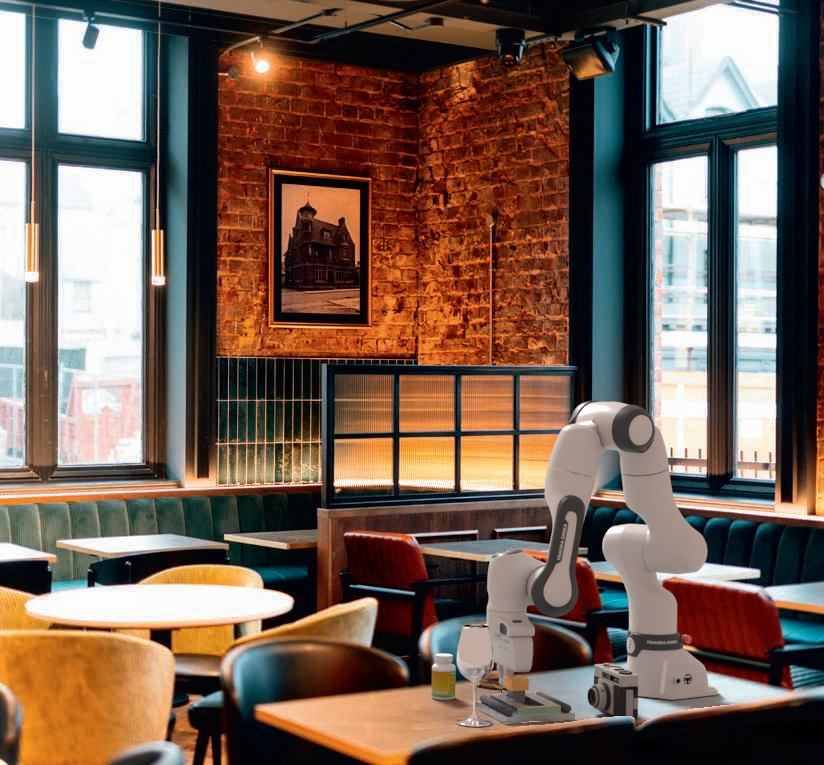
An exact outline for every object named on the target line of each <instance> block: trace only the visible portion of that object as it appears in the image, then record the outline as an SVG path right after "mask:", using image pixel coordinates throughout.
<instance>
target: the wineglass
mask: <svg viewBox="0 0 824 765" xmlns="http://www.w3.org/2000/svg"><path fill="white" fill-rule="evenodd" d="M494 665H495V662H494V650H493V644H492V638H491V633H490V628H489V626H488V625H487V624H479V623H476V624H475V623H469V624H464V625H462V629H461V632H460V637H459V641H458V646H457V652H456V667H457V669H458V671H459V673H460V675H461V676H463V677H464V678H465V679H466V680H469V681H471V684H472V713H471V715H470V716H469V717H462V718H458V719H456V721H455V723H456V724H458V725H460V726H462V727H468V726H470V727H469V728H485V727H489V726H491V725H493V720H491V719H488V718H485V717H484V718H483V717H480V716H478V713H477V709H476V701H477V691H478V689H477V688H478V685H479V684H478V682H479V681H481V680H483V679H485V678H486V677H487V676H488V675H489V674H490V673H491V671H493V669H494ZM484 726H485V727H484Z"/></svg>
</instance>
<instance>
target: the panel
mask: <svg viewBox="0 0 824 765" xmlns="http://www.w3.org/2000/svg"><path fill="white" fill-rule="evenodd" d="M489 697H490V698H492V699H494V700H496V701H498V702H500V703H502V704H503V705H505V706H507V707H509V708H511V709H512V710H513V714H512V715H511V716H508V715H506V714H504V713H502V712H500V711H498V710H496V709H495V708H493V707H491V706H489V705H487V704H485V703H483V702H481V701H480V700H479V701H478V700H476V708H477V709H476V710H478V709H479V710H478V711H480V710H481V711H480V712H482V713H483V712H484V713H483V714H485V713H487V714H489V715H490V716H489V715H488V716H489V717H491V716H492V717H491V718H493V717H494V718H496V719H498V720H500V721H502V722H504V723H521V722H529V721H553V722H565V721H564V720H569V721H575V720H576V713H575V711H572V710H571V711H570V712H565V711H563V710H561V706H560V705H558V704H556V703H554V702H552V701H549V700H547V699H545V698H543V697H541V696H539V695H537V694H536V693H534V692H532V691H531V692H530V691H527V692H526V691H525V702H524V703H520V702H518V701H516V700H514V699H512V698H510V697H508V696H507V693H493V694H492V693H490V694H489ZM487 714H486V715H487ZM494 718H493V719H494ZM496 719H495V720H496ZM498 720H497V721H498ZM500 721H499V722H500ZM502 722H501V723H502ZM504 723H503V724H504ZM521 724H522V723H521Z"/></svg>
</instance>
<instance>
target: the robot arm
mask: <svg viewBox="0 0 824 765" xmlns="http://www.w3.org/2000/svg"><path fill="white" fill-rule="evenodd" d="M572 412H573V413H572V414H571V416H570V419H569V422H568V424H567V425H565V426H564V427H563V428H561V430H560V431H559V433H558V435H557V438H556V440H555V443H554V445H553V448H552V451H551V454H550V458H549V460H548V465H547V469H546V474H545V480H544V499H545V502H546V504H547V506H548V508H549V511H550V515H551V521H552V531H551V536H550V539H549V540H550V541H549V547H548V552H547V557H546V562H543V561H541V560H538V559H536V558H534V556H531V555H530V554H528V553H526V552H525V551H524V550H523V549H520V548H511V549H504V550H500V551H497V552H495V553H493V555H492V556H491V557H490V560H489V564H488V570H487V584H486V586H487V587H486V590H487V593H488V602H487V606H486V625H488V626H489V628H490V633H491V638H492V644H493V650H494V664H496V671H497V670H498V674H499V684H501V685H503V686H504V676H514V674H515V672H516V673H527V672H530V671H531V669H532V666H533V656H534V640H533V637H534V636H535V632H536V631H535V630H536V628H535V625H534V624H533V623H532V622H531V621H530V619H529V617H528V616H527V608H528V606H534V607H535V608H536V609H537V610H538V611H539V612H540V613H541V614H543V615H544V616H546V617H550V618H551V617H553V618H557V617H562V616H565V615H567V614H568V613H569V612H571V611H572V610H573V609H574V607H575V606H576V604H577V601H578V599H579V586H578V580H577V576H576V568H577V567H576V566H577V560H578V554H579V549H580V545H581V544H580V542H581V539H582V532H583V526H584V522H585V519H586V518H585V517H586V515H587V511H588V508H589V505H590V502H591V499H592V495H593V492H594V488H595V484H596V478H597V475H598V471H599V462H600V459H601V457H602V456H603V453H605V452H606V451H616V452H618V454H619V463H620V473H621V482H622V489H623V490H622V491H623V499H624V502H625V505H626V506H627V508H628V509H629V510H630V511H632V512H633V513H635V514H637V515H638V516H639V517H640V518H641V519H642V520H643V521H644V523H645V524H640V523H625V524H619V525H613V526H611V527H610V528H609V529H608V530H607V532H605V534H604V537H603V539H602V553H603V556H604V559H605V560H606V562H607V563H608V564H609V565H610V566H611V567H612V568H613V569H615V571H616V572H617V574H618V575H619V577H620V579H621V580H622V582H623V584H624V588H625V591H626V595H627V600H628V630H627V631H626V653H627V658H626V659H627V660H626V668H625V670H629V671H631V672H632V673H635V674H637V675H639V676H638V697H643V698H655V699H662V700H668V701H671V700H682V699H684V700H685V699H689V698H690V699H692V698H693V699H694V698H699V697H709V696H717V695H719V694H718V693H719V692H718V691H719V690H718V689H717V687H715V686H713V685H710V684H709V677H708V672H707V669H706V667H705V665H704V664H703V663H702V662H701V661H700V660H698V659H697V658H696V657H694V656H693V655H692V654H691V653H689V652H688V651H687V649H685V647H684V644H686V645H689V644H692V642H693V641H692V640H693V637H691V635H689V634H682V633H680V632H678V603H677V599H676V597H675V596H674V593H672V592H671V591H670V590H668V589H666V588H665V587H664V586H663V585H662V583H660V581H659V579H658V576H657V573H660V574H661V573H662V574H669V575H686V574H691V573H692V574H693V573H697V572H699V570H701V569H702V567H703V566H704V565H705V563H706V561H707V557H708V546H707V545H708V544H707V542H706V540H705V538H704V535H702V534H701V533H700V532H699V531H698V530H696V529H695V528H694V527H693V526H691V525H690V523H689V522H688V521H687V520H686V518H684V516H683V514H682V513H681V511H680V510H679V508H678V506H677V503H676V500H675V497H674V493H673V488H672V482H671V475H670V466H669V465H670V464H669V459H668V452H667V448H666V445H665V441H664V438H663V435H662V431H661V429H659V427H658V426H657V425H655V423H654V420H653V417H652V415H651V414H650V413H649V412H648V411H647V410H646V409H645V408H643V407H640V406H638V405H635V404H627V403H623V402H619V401H598V400H589V401H585V402H582V403H580V404H579V405H578V406H576V408H575V409H574V410H573V411H572ZM683 643H684V644H683Z"/></svg>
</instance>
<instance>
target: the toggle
mask: <svg viewBox="0 0 824 765" xmlns="http://www.w3.org/2000/svg"><path fill="white" fill-rule="evenodd" d="M529 680H530V679H529V678H528V677H526V676H524V675H522V674H519V675H518V674H517V675H513V676H504V688H503V689H505V690H506V694H507V696H508V697H510V698H512V699H514V700H516V701H518V702H520V703H524V702H525V693H526V691H529V685H530V684H529ZM525 690H526V691H525Z"/></svg>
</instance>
